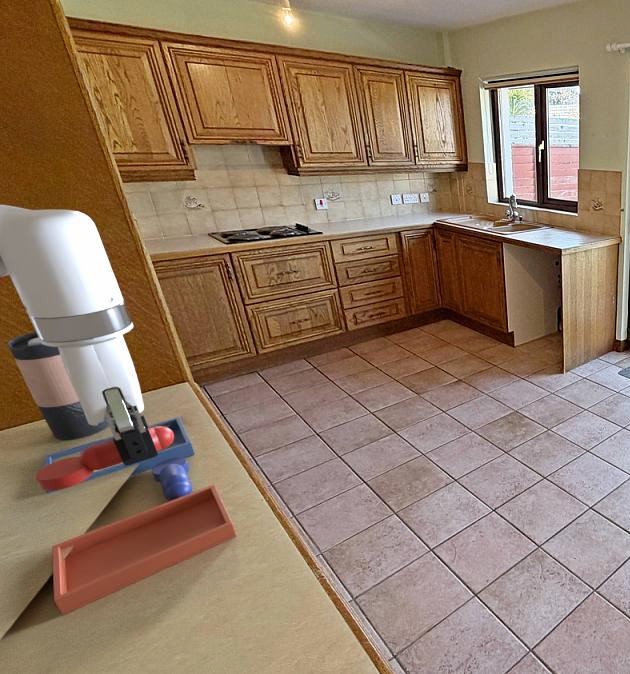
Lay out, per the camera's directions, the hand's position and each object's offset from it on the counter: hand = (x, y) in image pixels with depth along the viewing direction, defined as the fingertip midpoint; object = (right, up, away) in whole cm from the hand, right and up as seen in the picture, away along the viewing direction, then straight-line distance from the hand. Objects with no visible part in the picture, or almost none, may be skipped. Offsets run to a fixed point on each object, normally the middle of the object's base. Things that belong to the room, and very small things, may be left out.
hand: (139, 451), depth 61 cm
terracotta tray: (-2, -14, +4) cm, 15 cm away
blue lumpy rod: (-9, -9, +15) cm, 20 cm away
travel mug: (-35, -4, +26) cm, 43 cm away
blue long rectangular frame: (-22, -6, +20) cm, 31 cm away
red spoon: (-2, -1, -2) cm, 3 cm away
